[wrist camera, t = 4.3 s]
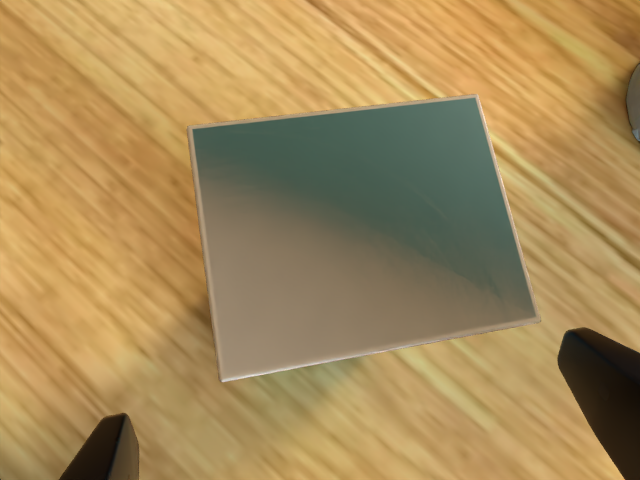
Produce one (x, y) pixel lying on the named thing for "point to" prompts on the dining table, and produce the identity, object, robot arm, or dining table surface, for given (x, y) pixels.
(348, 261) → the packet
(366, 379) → the dining table surface
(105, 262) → the dining table surface
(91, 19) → the dining table surface
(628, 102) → the grey embossed cup
